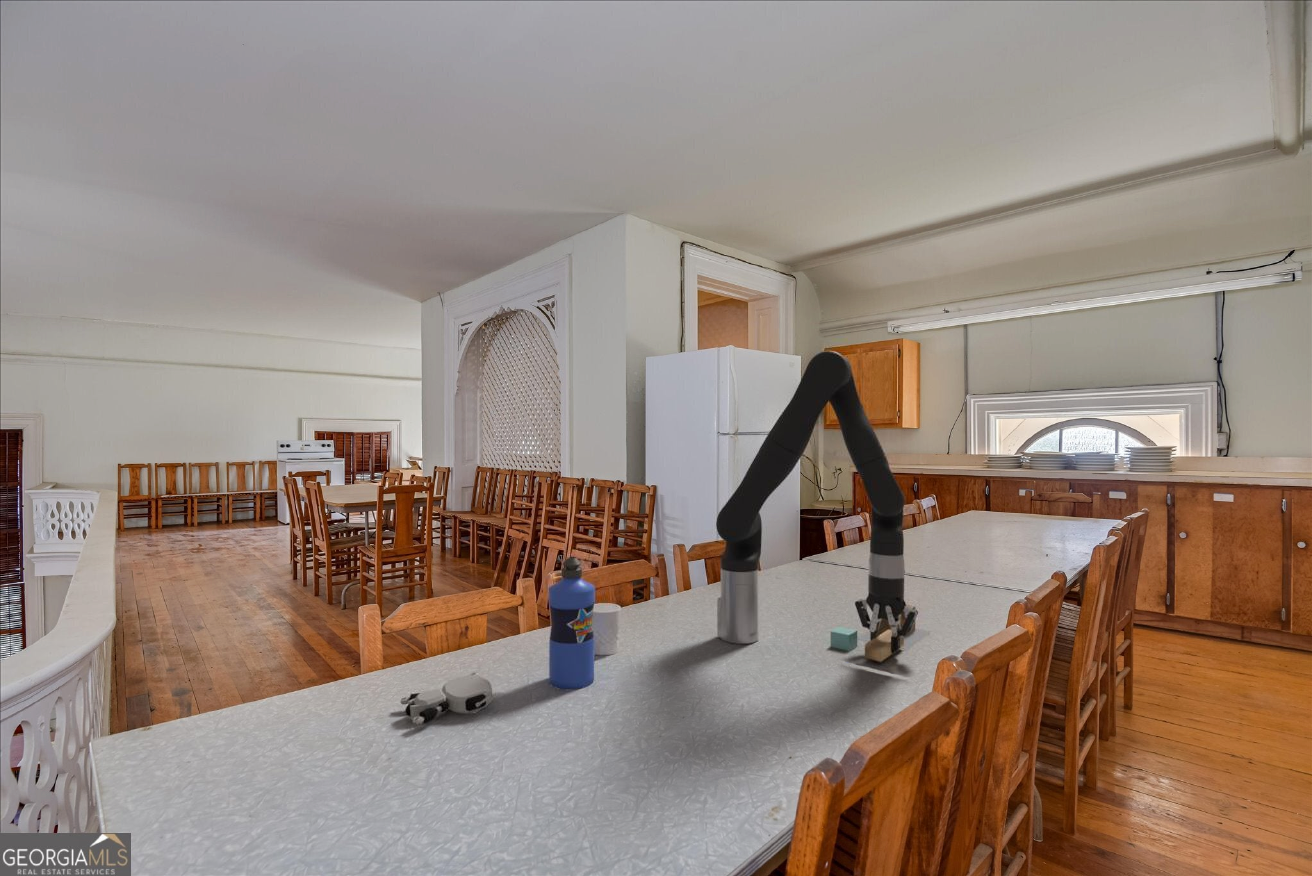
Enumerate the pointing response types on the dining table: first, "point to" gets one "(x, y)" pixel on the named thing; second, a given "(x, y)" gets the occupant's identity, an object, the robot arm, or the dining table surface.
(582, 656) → the water bottle
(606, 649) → the white cup
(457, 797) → the dining table surface
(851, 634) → the cube
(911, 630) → the pillar
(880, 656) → the plank
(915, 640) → the board
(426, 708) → the robot toy
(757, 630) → the robot arm
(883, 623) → the pillar
